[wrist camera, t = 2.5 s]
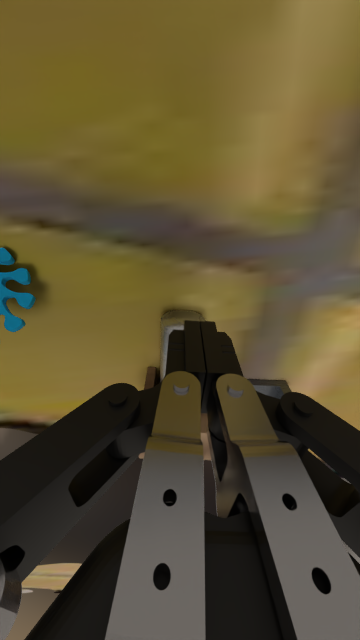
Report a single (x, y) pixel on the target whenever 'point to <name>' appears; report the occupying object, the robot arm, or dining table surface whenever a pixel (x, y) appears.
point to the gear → (3, 294)
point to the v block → (271, 387)
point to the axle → (168, 324)
